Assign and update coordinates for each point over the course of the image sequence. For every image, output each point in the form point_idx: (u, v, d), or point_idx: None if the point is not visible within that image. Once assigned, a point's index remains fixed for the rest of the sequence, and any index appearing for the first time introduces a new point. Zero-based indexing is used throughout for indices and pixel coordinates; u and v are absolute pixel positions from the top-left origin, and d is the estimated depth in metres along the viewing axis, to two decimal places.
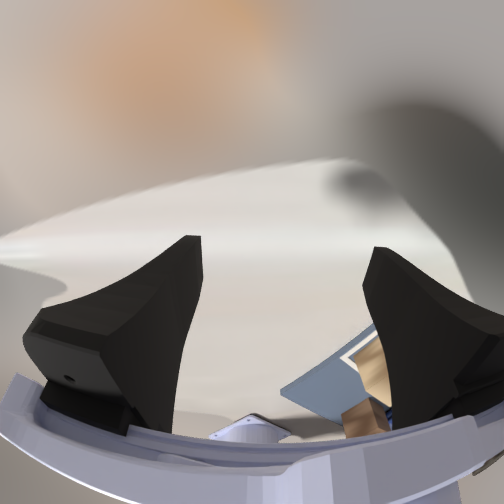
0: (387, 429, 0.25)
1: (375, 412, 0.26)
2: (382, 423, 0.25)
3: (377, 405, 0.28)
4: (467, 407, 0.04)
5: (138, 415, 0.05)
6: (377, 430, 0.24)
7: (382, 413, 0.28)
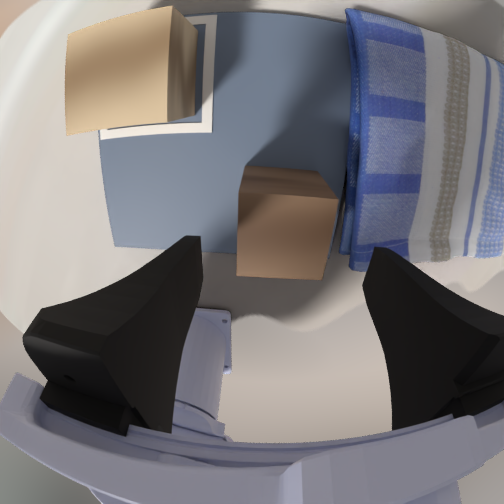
0: (310, 193, 0.12)
1: (260, 175, 0.14)
2: (282, 186, 0.12)
3: (286, 170, 0.15)
4: (467, 407, 0.04)
5: (138, 415, 0.05)
6: (250, 202, 0.12)
7: (303, 176, 0.14)
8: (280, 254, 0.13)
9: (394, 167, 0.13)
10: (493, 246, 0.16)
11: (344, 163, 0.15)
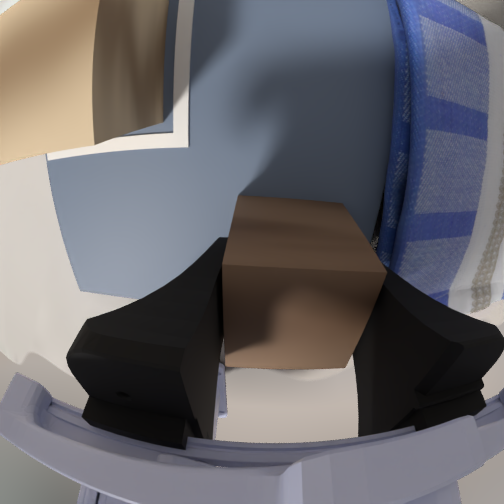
0: (341, 260, 0.07)
1: (261, 218, 0.09)
2: (295, 244, 0.08)
3: (298, 203, 0.11)
4: (430, 420, 0.04)
5: (195, 426, 0.05)
6: (243, 279, 0.07)
7: (325, 217, 0.10)
8: (290, 344, 0.08)
9: (449, 203, 0.09)
10: None
11: (379, 192, 0.11)
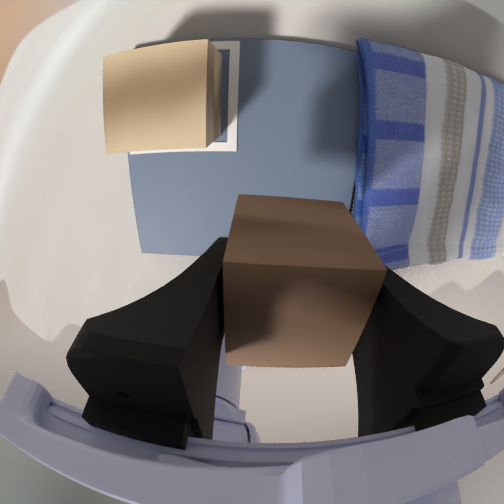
0: (342, 258, 0.07)
1: (261, 217, 0.09)
2: (296, 242, 0.08)
3: (298, 202, 0.11)
4: (430, 420, 0.04)
5: (195, 426, 0.05)
6: (244, 277, 0.07)
7: (325, 215, 0.10)
8: (290, 342, 0.08)
9: (396, 183, 0.15)
10: (486, 248, 0.18)
11: (352, 178, 0.17)
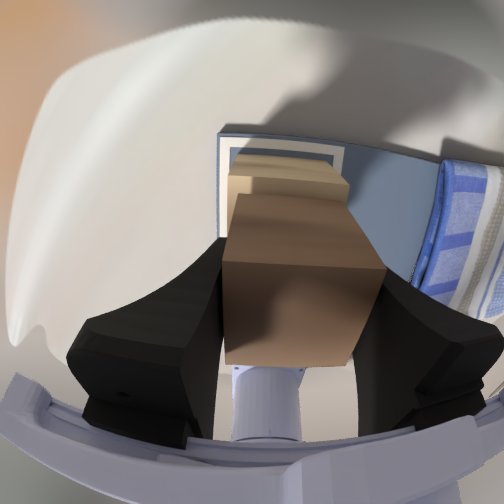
0: (342, 256, 0.07)
1: (261, 216, 0.09)
2: (295, 241, 0.08)
3: (298, 201, 0.11)
4: (430, 420, 0.04)
5: (195, 426, 0.05)
6: (243, 276, 0.07)
7: (325, 214, 0.10)
8: (290, 342, 0.08)
9: (445, 278, 0.18)
10: (497, 308, 0.20)
11: (411, 270, 0.20)
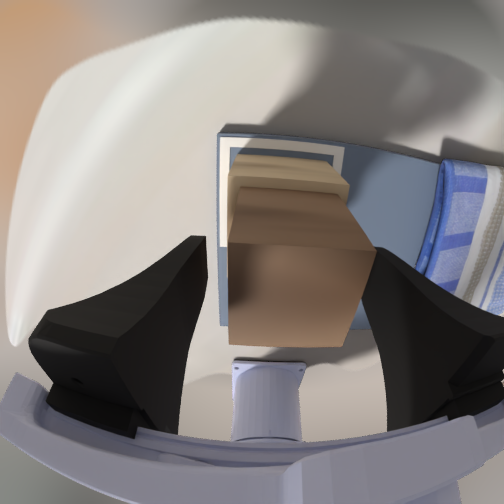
0: (335, 240, 0.08)
1: (262, 205, 0.10)
2: (293, 227, 0.09)
3: (296, 193, 0.11)
4: (462, 409, 0.04)
5: (146, 417, 0.05)
6: (246, 256, 0.08)
7: (321, 205, 0.10)
8: (289, 321, 0.09)
9: (445, 278, 0.18)
10: (497, 308, 0.20)
11: None
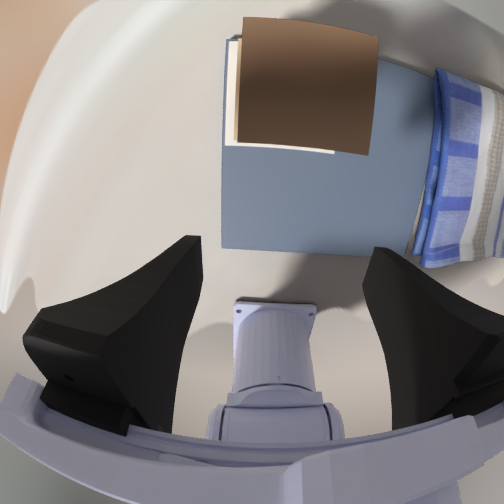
0: (339, 31, 0.06)
1: None
2: None
3: None
4: (467, 407, 0.04)
5: (138, 415, 0.05)
6: (260, 28, 0.06)
7: None
8: (306, 104, 0.07)
9: (457, 192, 0.16)
10: None
11: (422, 186, 0.18)
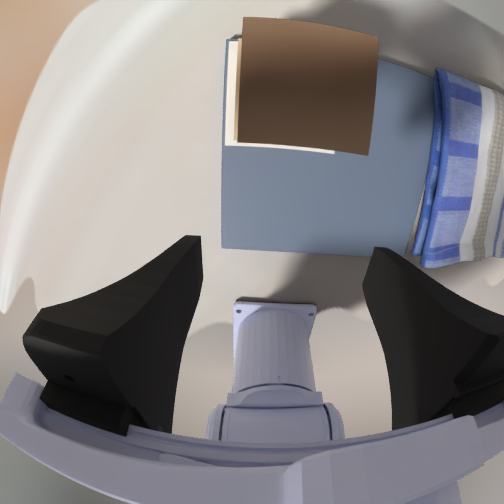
0: (339, 31, 0.06)
1: None
2: None
3: None
4: (467, 407, 0.04)
5: (138, 415, 0.05)
6: (260, 28, 0.06)
7: None
8: (306, 104, 0.07)
9: (457, 192, 0.16)
10: None
11: (422, 186, 0.18)
